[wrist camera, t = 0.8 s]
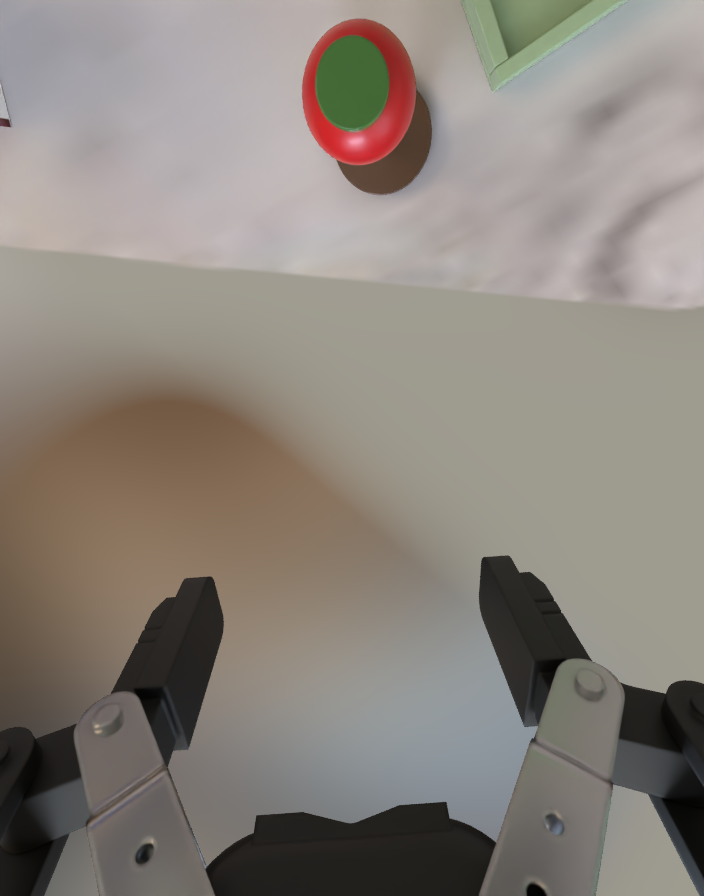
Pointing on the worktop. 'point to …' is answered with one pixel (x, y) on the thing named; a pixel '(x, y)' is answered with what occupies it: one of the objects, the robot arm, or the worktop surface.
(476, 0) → the serving tray
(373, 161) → the red topped grey rod
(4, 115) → the juice carton
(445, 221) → the worktop surface
